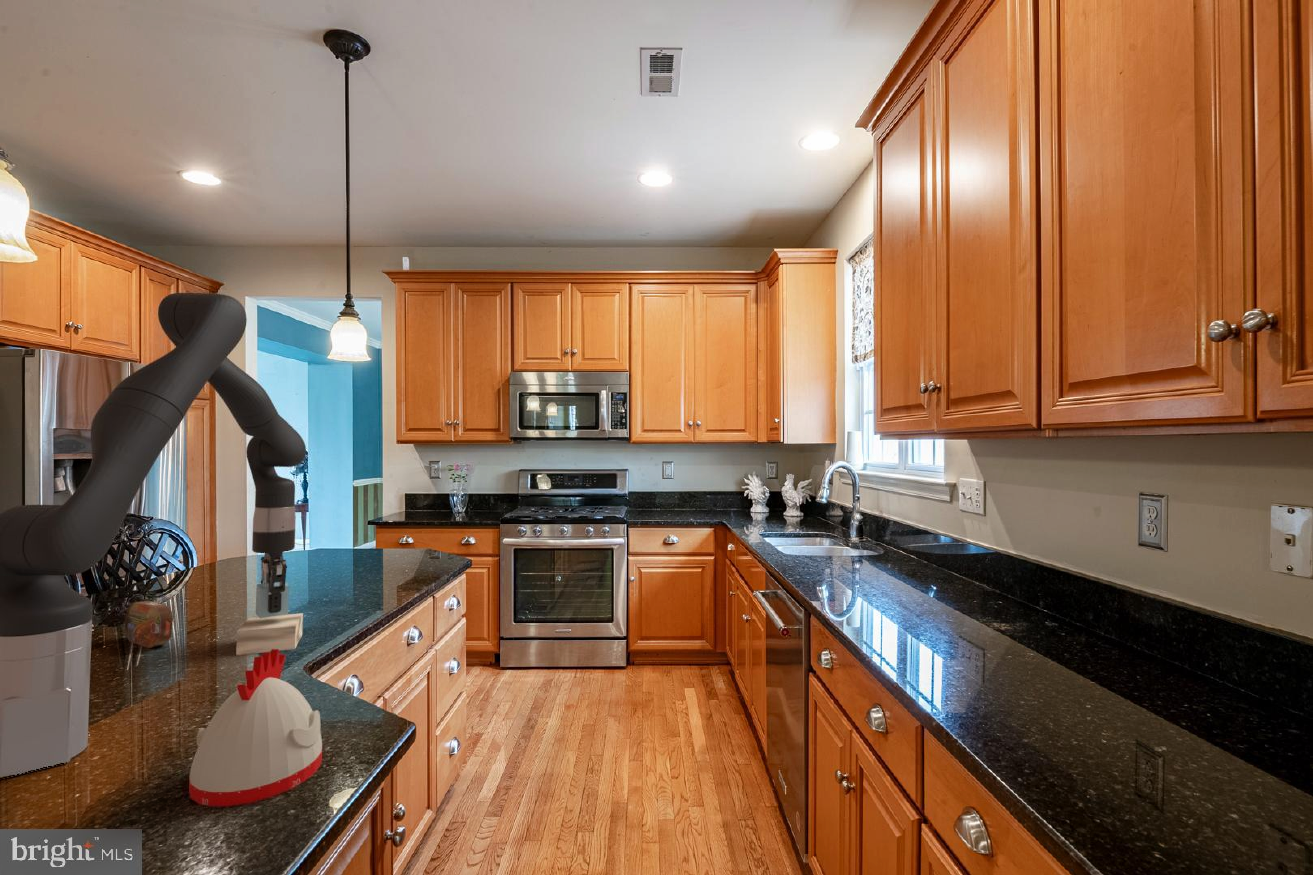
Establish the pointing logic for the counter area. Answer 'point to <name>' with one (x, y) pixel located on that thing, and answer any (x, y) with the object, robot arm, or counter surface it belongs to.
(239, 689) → the kitchen timer
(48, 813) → the counter surface
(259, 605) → the blue-gray block
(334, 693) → the counter surface
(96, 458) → the robot arm
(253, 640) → the birch block
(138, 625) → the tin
